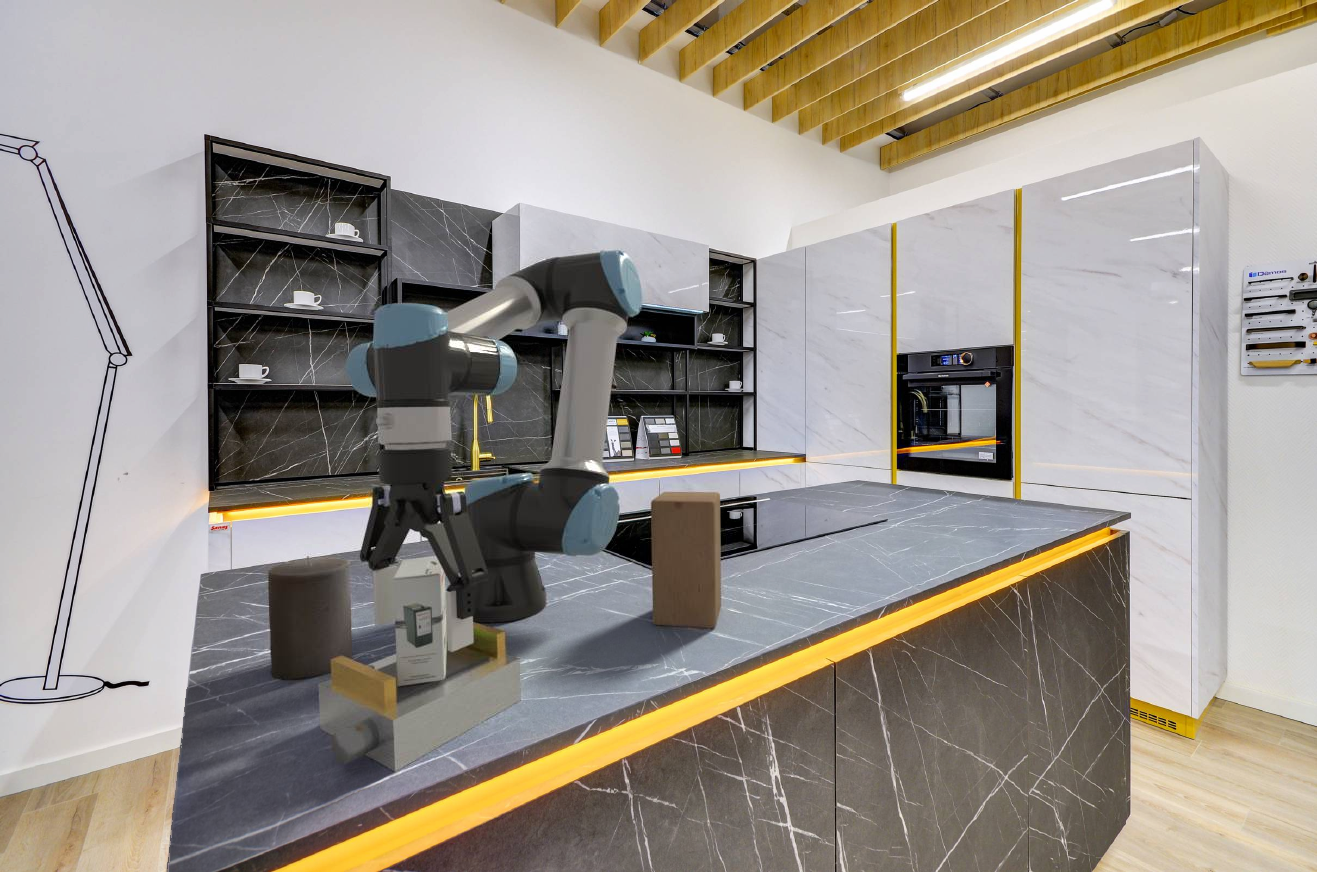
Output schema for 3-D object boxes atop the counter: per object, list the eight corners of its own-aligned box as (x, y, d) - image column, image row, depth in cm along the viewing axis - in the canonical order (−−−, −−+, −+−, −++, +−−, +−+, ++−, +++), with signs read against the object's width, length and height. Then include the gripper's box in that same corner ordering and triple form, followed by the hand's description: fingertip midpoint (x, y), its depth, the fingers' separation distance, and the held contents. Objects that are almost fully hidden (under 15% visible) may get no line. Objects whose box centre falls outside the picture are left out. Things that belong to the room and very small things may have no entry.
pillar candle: (263, 686, 73) (259, 569, 72) (278, 656, 82) (275, 551, 81) (350, 672, 77) (347, 560, 76) (356, 644, 86) (353, 545, 85)
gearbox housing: (290, 742, 60) (286, 667, 60) (446, 671, 76) (444, 612, 76) (364, 789, 52) (360, 703, 52) (520, 699, 68) (519, 633, 68)
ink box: (404, 655, 68) (400, 557, 68) (448, 649, 70) (445, 553, 69) (395, 688, 60) (391, 576, 60) (446, 680, 62) (442, 571, 61)
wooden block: (715, 629, 89) (713, 501, 88) (652, 625, 91) (650, 500, 90) (721, 607, 99) (720, 491, 98) (664, 604, 101) (662, 491, 100)
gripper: (323, 446, 68) (330, 623, 69) (459, 451, 54) (466, 672, 55) (383, 442, 74) (389, 604, 75) (519, 446, 60) (524, 645, 61)
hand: (422, 634), depth 65 cm, fingers open, 13 cm apart
